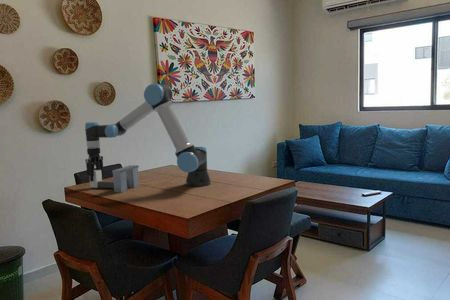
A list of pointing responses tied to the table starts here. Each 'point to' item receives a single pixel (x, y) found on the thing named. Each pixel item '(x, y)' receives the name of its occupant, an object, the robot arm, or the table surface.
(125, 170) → the housing
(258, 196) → the table surface
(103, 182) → the plug
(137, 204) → the table surface
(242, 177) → the table surface
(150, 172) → the table surface
